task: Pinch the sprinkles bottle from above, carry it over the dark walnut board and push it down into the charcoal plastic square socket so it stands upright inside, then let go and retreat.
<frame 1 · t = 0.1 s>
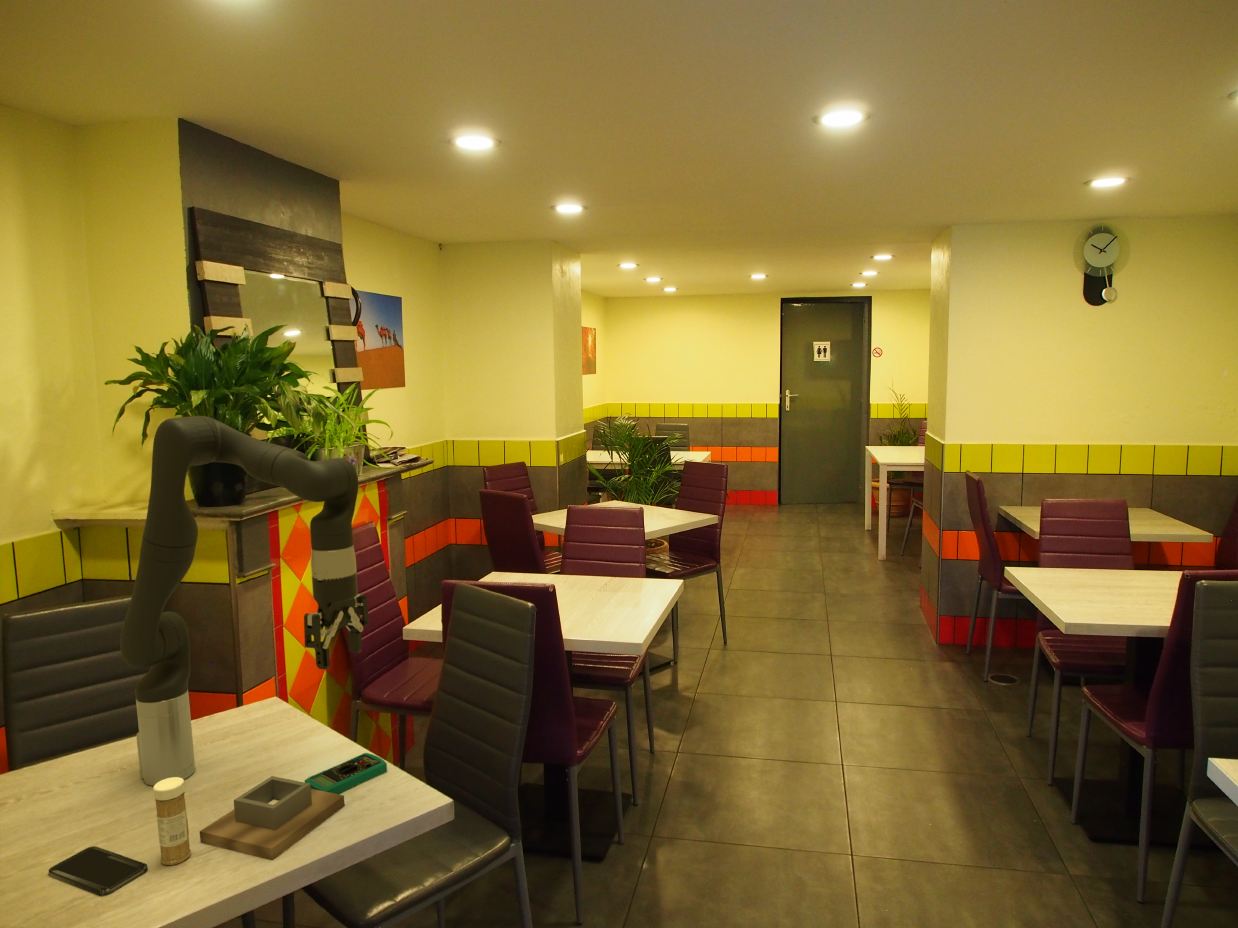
hand: (340, 659, 148), 29 cm above the table, tool pointing down, fingers open, 8 cm apart
sprinkles bottle: (175, 859, 138), on the table
digital multimeter: (347, 783, 164), on the table
phone: (99, 874, 135), on the table
socket board: (275, 822, 149), on the table
socket sleeve: (273, 801, 148), on the socket board, point 4 cm above the table
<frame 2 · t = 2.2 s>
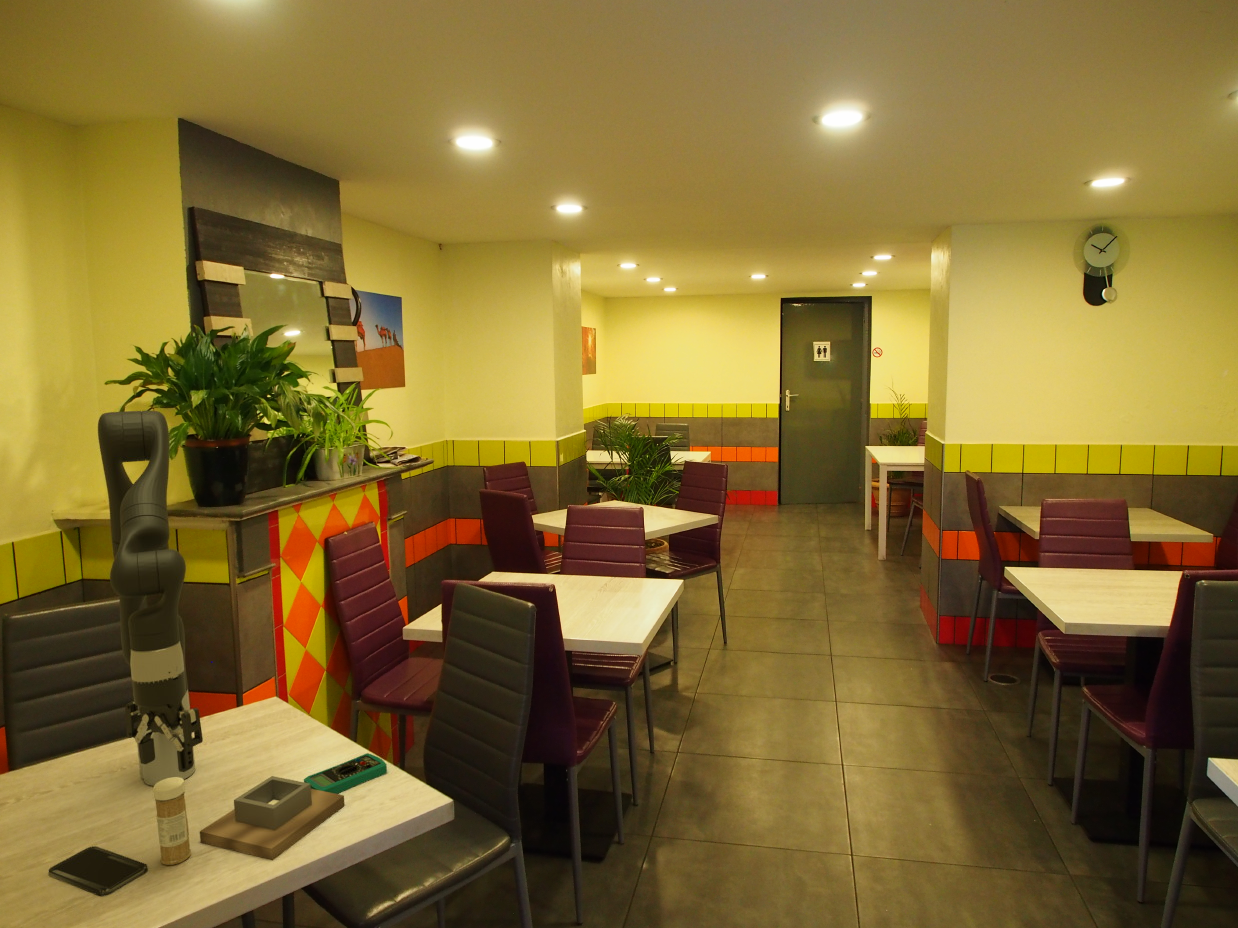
hand: (167, 765, 136), 16 cm above the table, tool pointing down, fingers open, 8 cm apart
nothing on the table moved.
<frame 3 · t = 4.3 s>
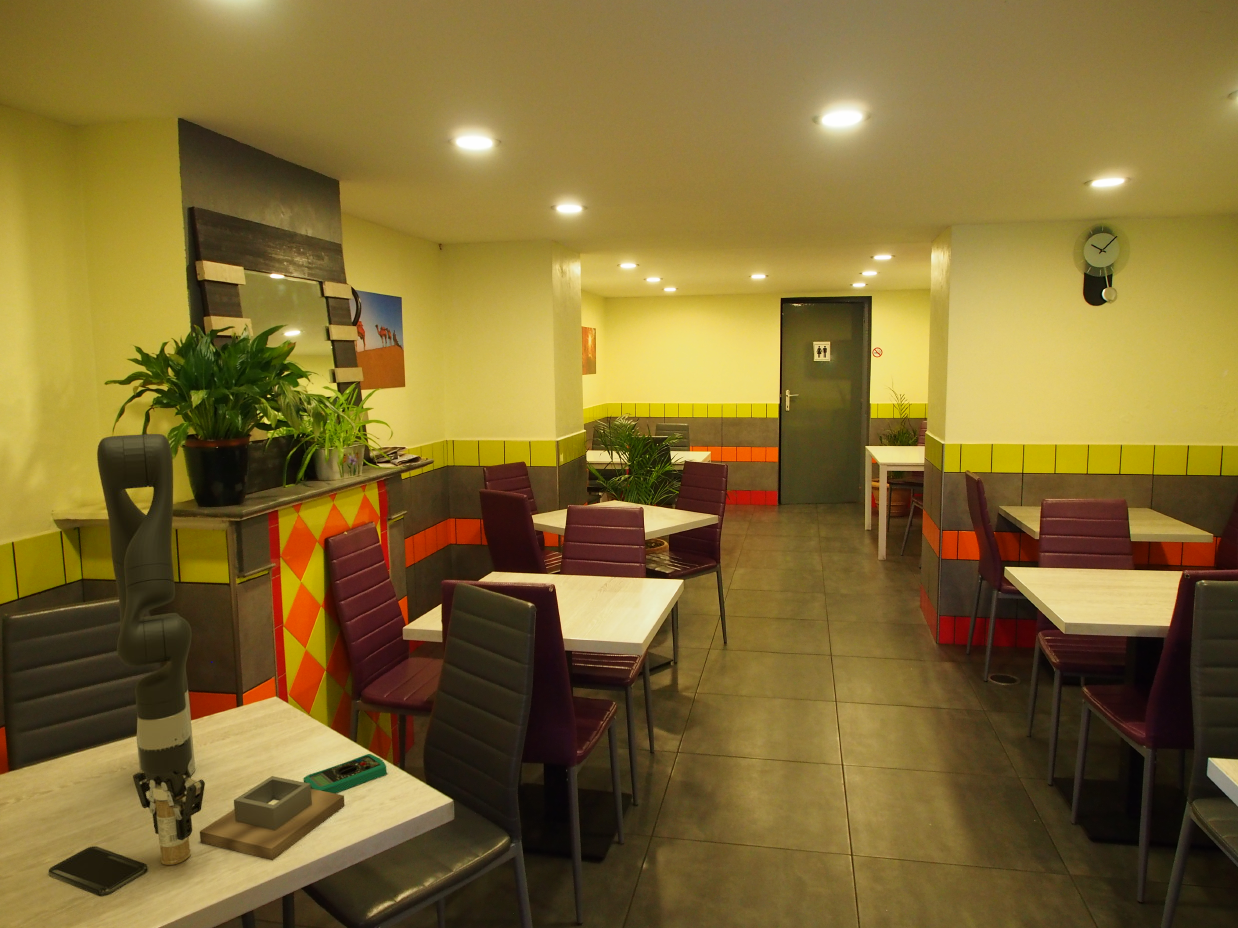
hand: (173, 833, 138), 4 cm above the table, tool pointing down, fingers closed on sprinkles bottle, 4 cm apart
sprinkles bottle: (175, 859, 138), on the table, touching gripper
everything else where it was.
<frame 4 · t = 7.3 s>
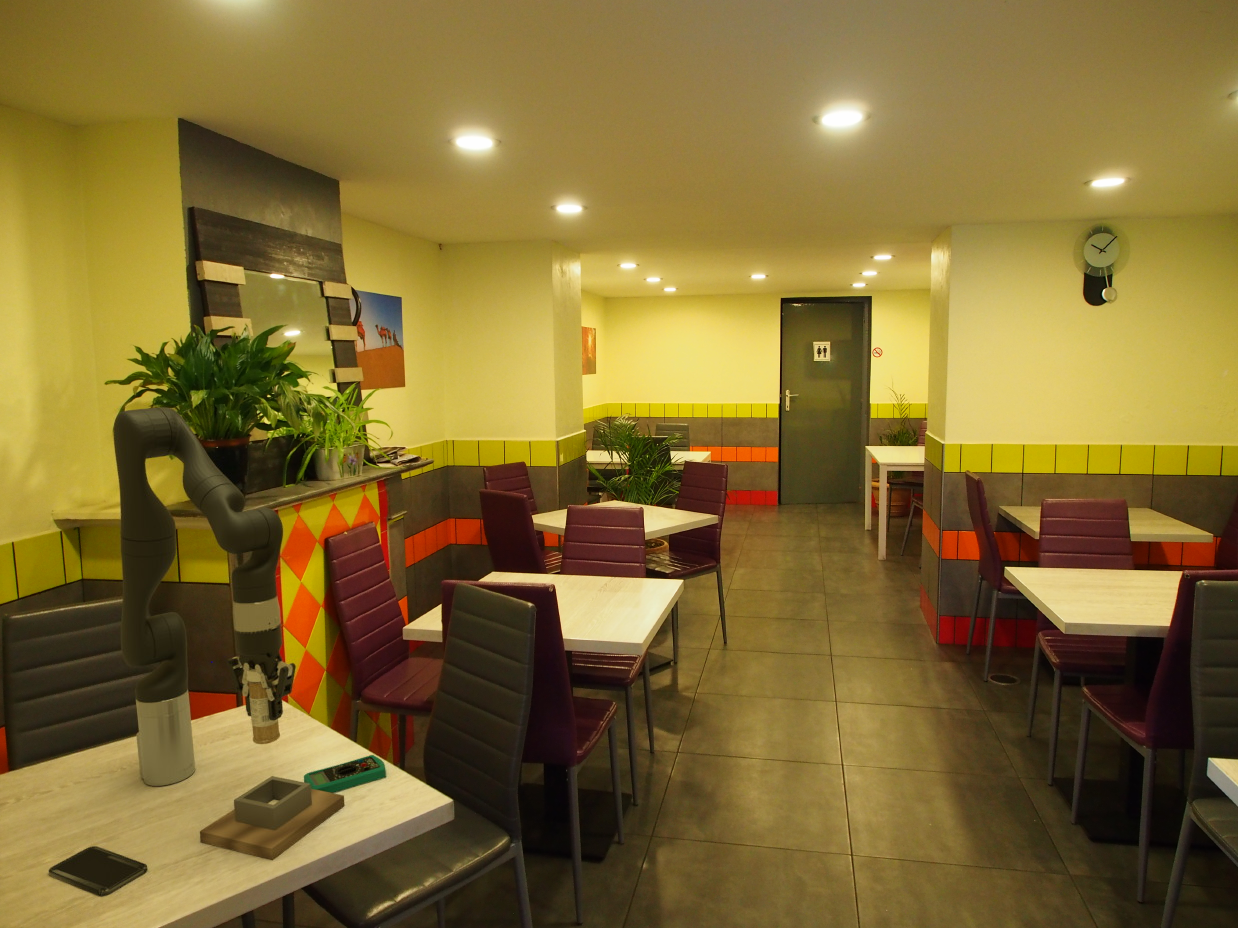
hand: (264, 716, 146), 20 cm above the table, tool pointing down, fingers closed on sprinkles bottle, 4 cm apart
sprinkles bottle: (266, 740, 146), point 16 cm above the table, touching gripper
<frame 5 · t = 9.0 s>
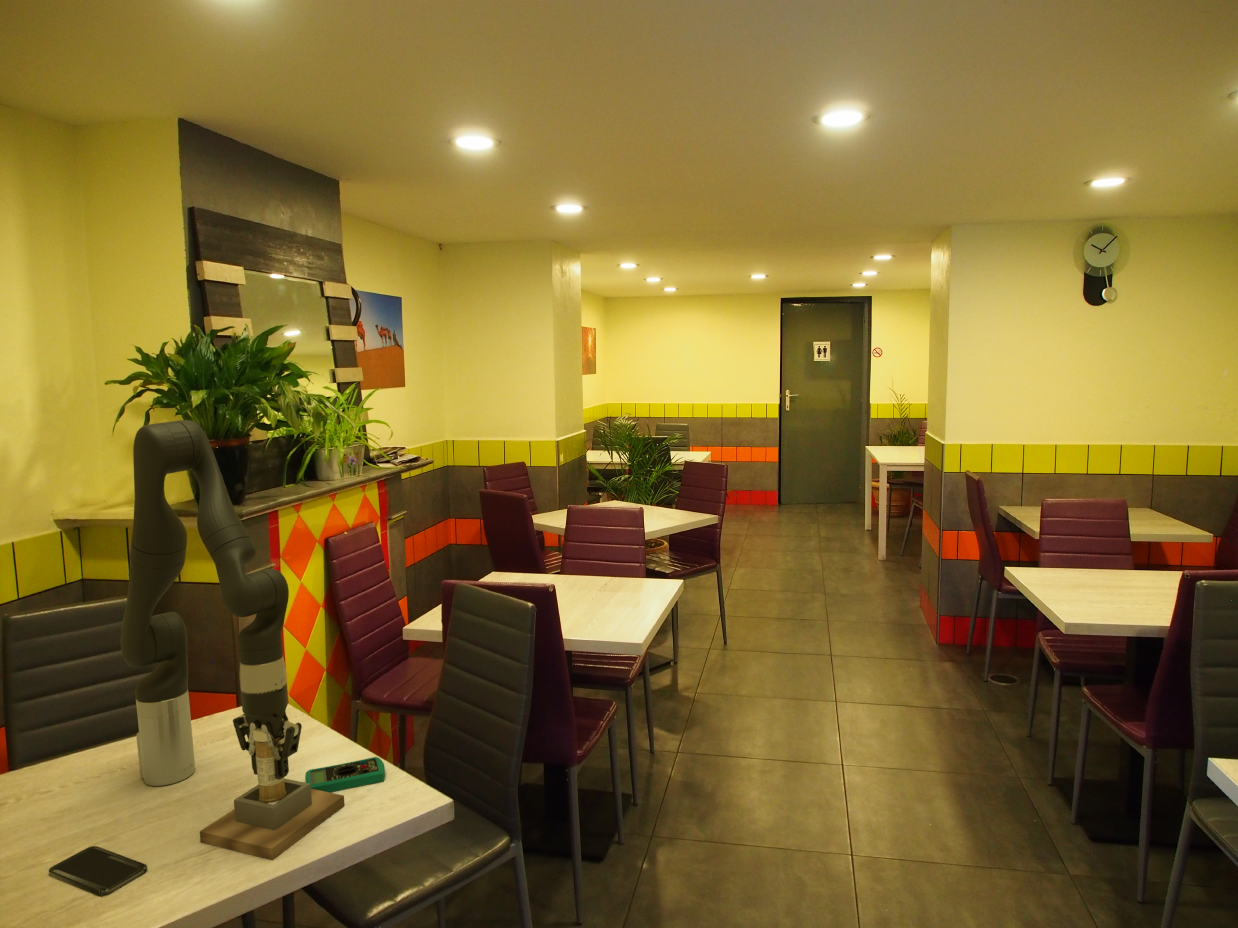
hand: (271, 774, 147), 9 cm above the table, tool pointing down, fingers closed on sprinkles bottle, 4 cm apart
sprinkles bottle: (272, 798, 148), point 5 cm above the table, touching gripper
when the fingers open (8 cm above the table, at t = 10.3 s): sprinkles bottle drops 2 cm, resting on socket board.
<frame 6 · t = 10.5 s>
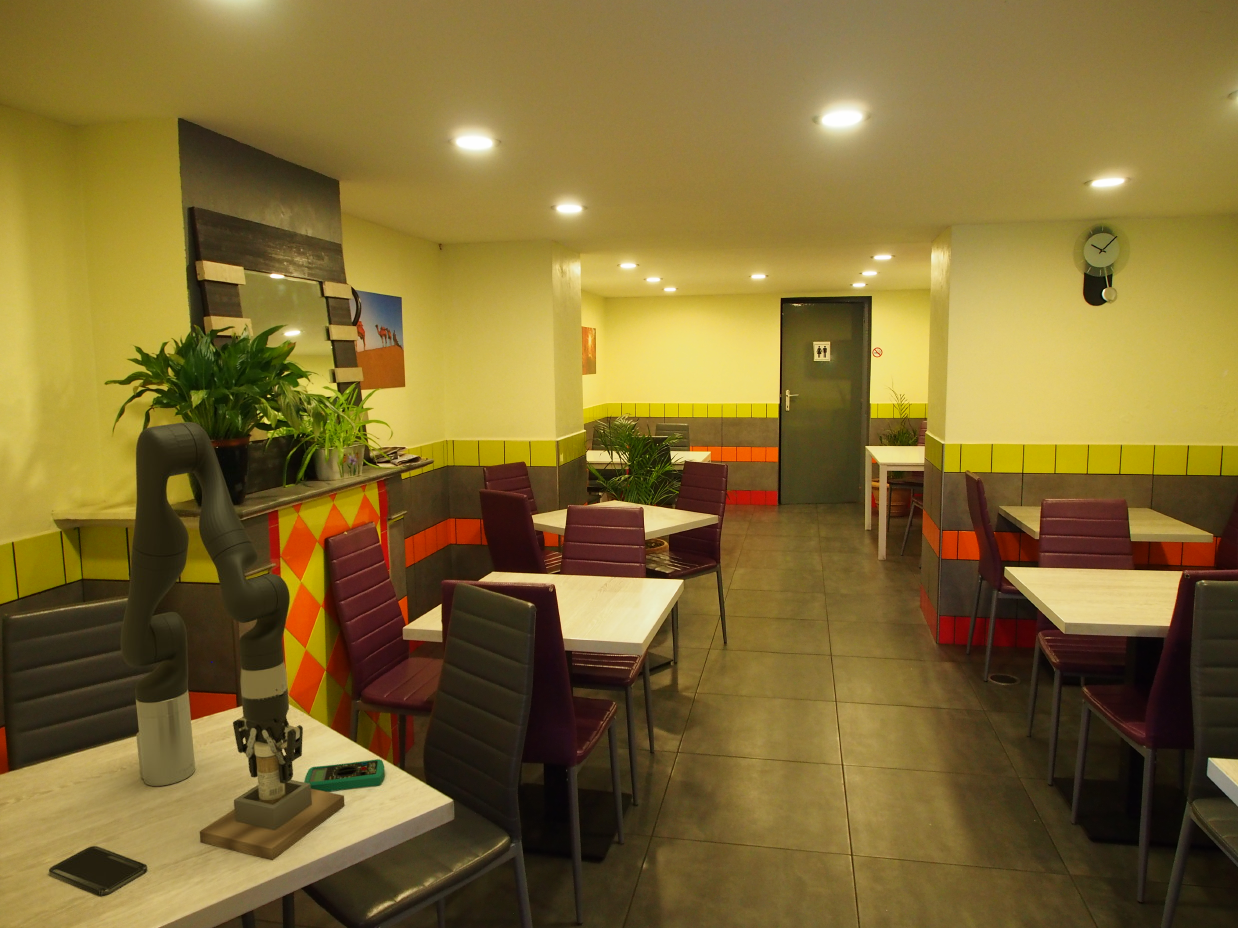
hand: (271, 777, 147), 9 cm above the table, tool pointing down, fingers open, 6 cm apart
sprinkles bottle: (273, 811, 148), point 2 cm above the table, touching socket board
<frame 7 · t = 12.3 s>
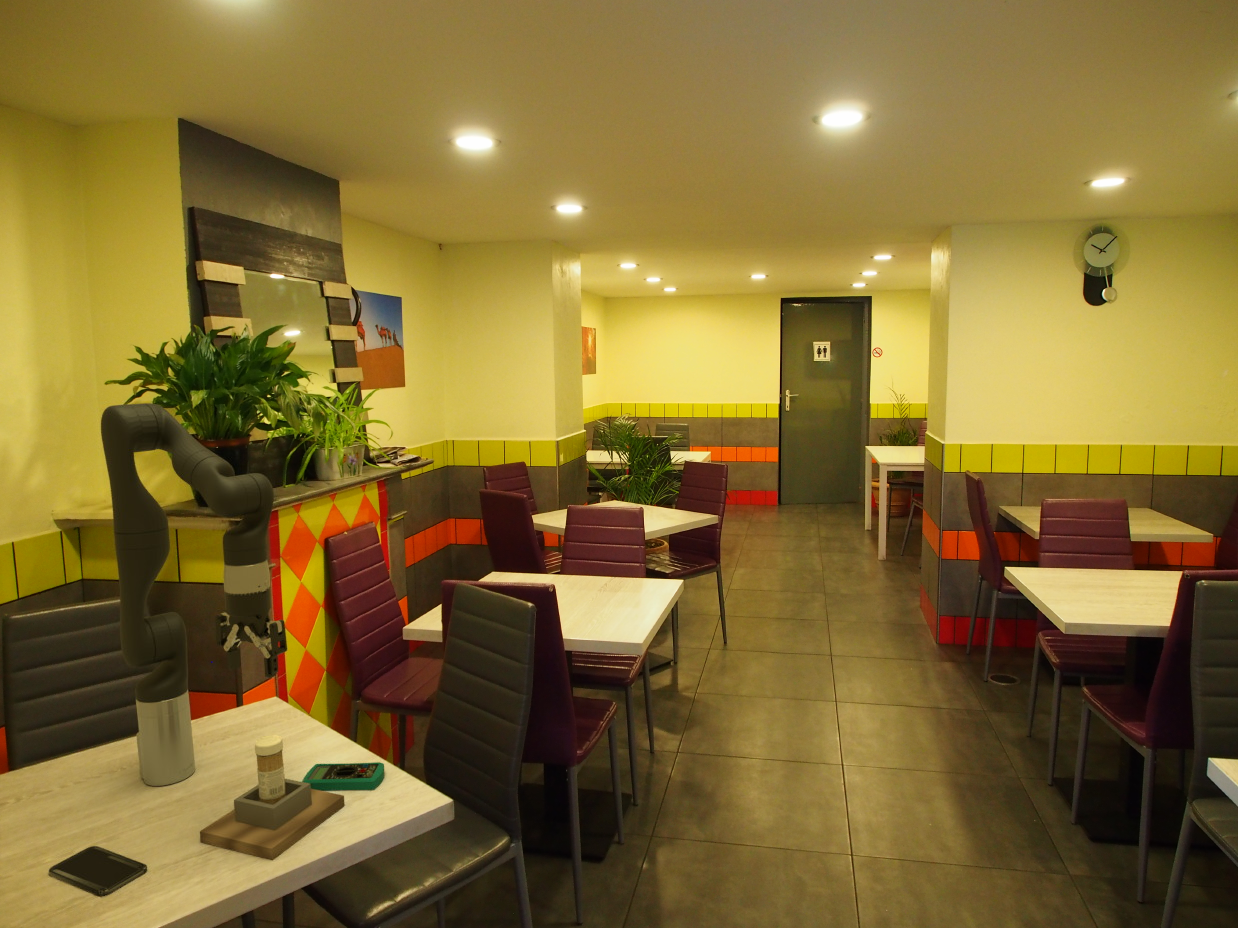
hand: (253, 672, 149), 27 cm above the table, tool pointing down, fingers open, 8 cm apart
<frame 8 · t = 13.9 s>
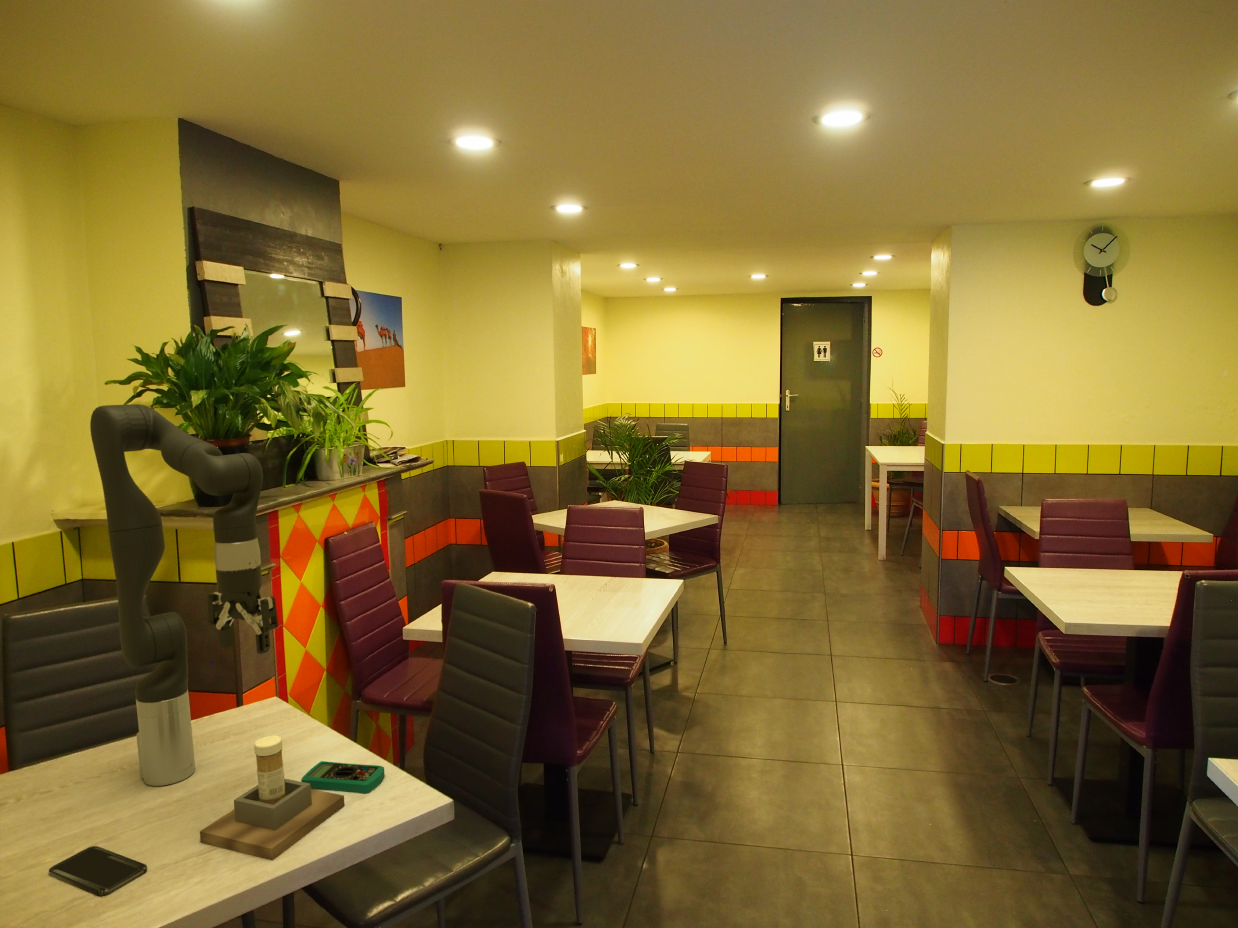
hand: (245, 650, 151), 30 cm above the table, tool pointing down, fingers open, 8 cm apart
at the end: sprinkles bottle 0.2 cm off-centre on the socket board, point 2.0 cm above the socket board's base; sprinkles bottle tilted 0°; the gripper is holding nothing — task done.
